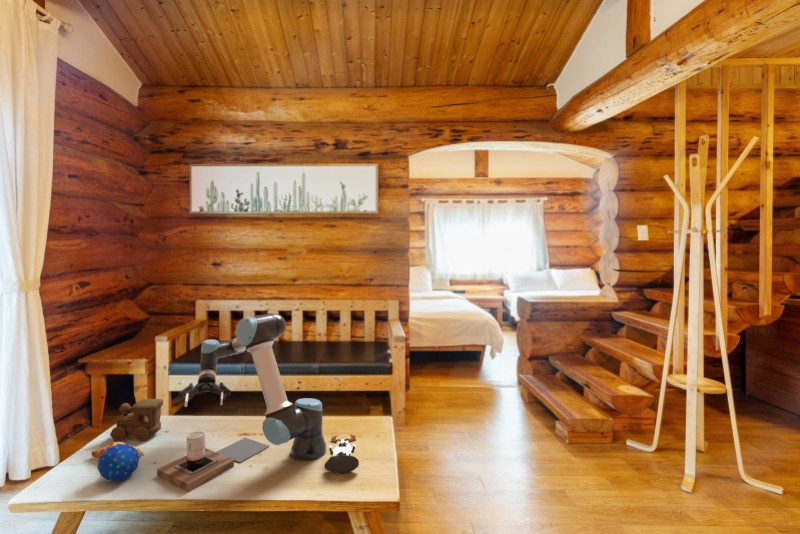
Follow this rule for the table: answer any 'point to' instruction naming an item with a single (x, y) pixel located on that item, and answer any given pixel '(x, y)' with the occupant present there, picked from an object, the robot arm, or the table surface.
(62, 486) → the table surface
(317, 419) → the robot arm
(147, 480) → the table surface
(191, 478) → the socket stand
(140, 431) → the wooden toy train
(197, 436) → the beverage can
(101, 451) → the croissant
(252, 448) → the rubber mat
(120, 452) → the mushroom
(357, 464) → the figurine
